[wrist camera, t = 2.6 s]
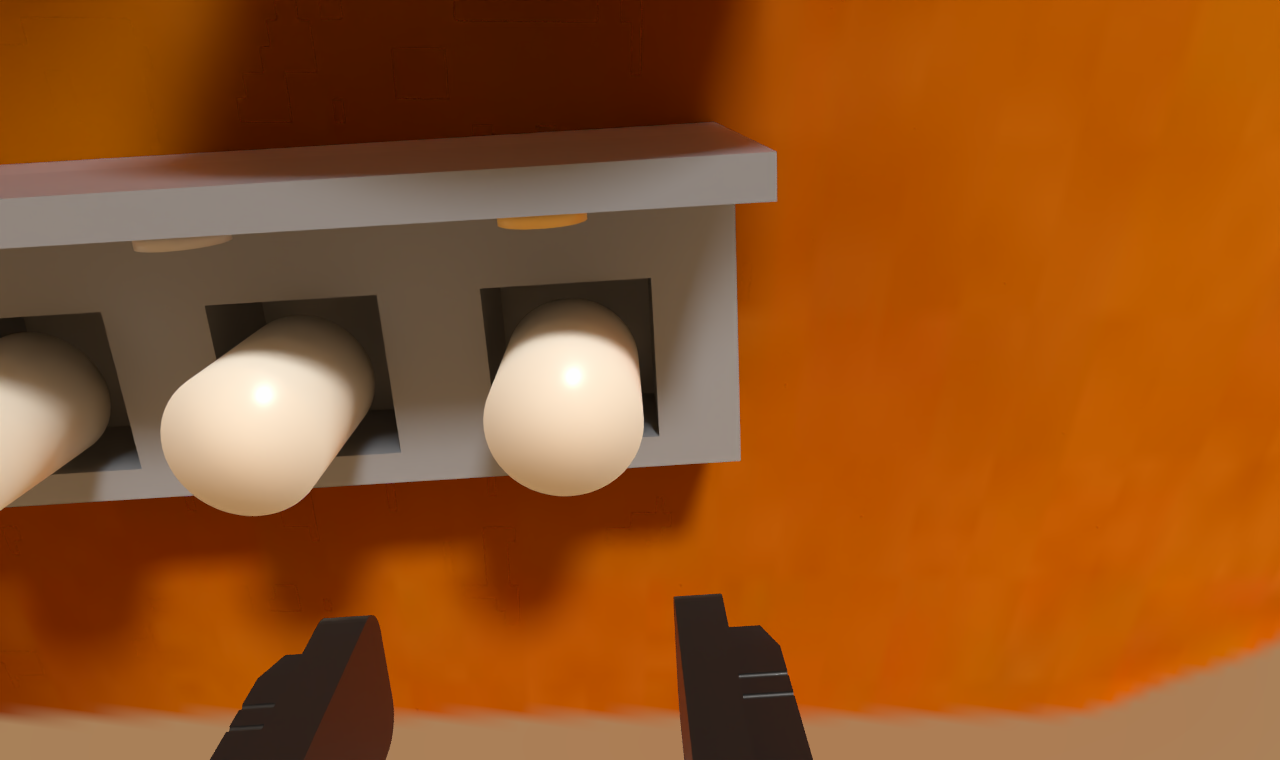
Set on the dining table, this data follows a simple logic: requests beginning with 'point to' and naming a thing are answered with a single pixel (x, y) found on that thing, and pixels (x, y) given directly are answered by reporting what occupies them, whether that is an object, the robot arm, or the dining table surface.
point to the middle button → (268, 416)
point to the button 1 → (45, 409)
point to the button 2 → (566, 400)
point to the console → (387, 281)
